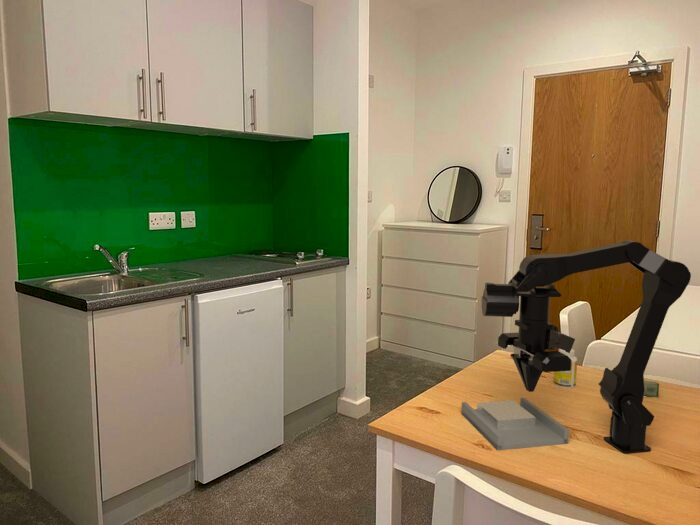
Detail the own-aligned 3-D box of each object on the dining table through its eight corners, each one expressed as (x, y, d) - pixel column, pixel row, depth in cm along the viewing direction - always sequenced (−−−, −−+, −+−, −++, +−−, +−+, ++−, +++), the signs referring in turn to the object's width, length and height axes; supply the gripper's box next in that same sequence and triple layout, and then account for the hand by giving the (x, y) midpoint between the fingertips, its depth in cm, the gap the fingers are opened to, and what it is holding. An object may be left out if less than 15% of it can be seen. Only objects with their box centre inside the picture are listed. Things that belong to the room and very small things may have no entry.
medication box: (654, 396, 140) (656, 381, 140) (659, 399, 137) (660, 383, 137) (605, 391, 142) (606, 376, 142) (609, 394, 139) (610, 379, 139)
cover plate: (535, 426, 118) (535, 417, 117) (497, 429, 116) (497, 420, 116) (512, 408, 127) (512, 400, 127) (477, 411, 126) (477, 402, 125)
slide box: (568, 443, 112) (569, 430, 111) (497, 450, 109) (497, 436, 108) (523, 409, 129) (524, 397, 129) (461, 414, 126) (461, 402, 126)
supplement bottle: (566, 381, 149) (569, 345, 148) (580, 388, 144) (582, 351, 143) (549, 383, 148) (551, 347, 147) (561, 390, 142) (564, 352, 141)
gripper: (599, 327, 102) (593, 405, 104) (544, 306, 120) (540, 374, 122) (545, 329, 100) (541, 409, 102) (498, 308, 118) (495, 376, 120)
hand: (529, 391), depth 111 cm, fingers closed
